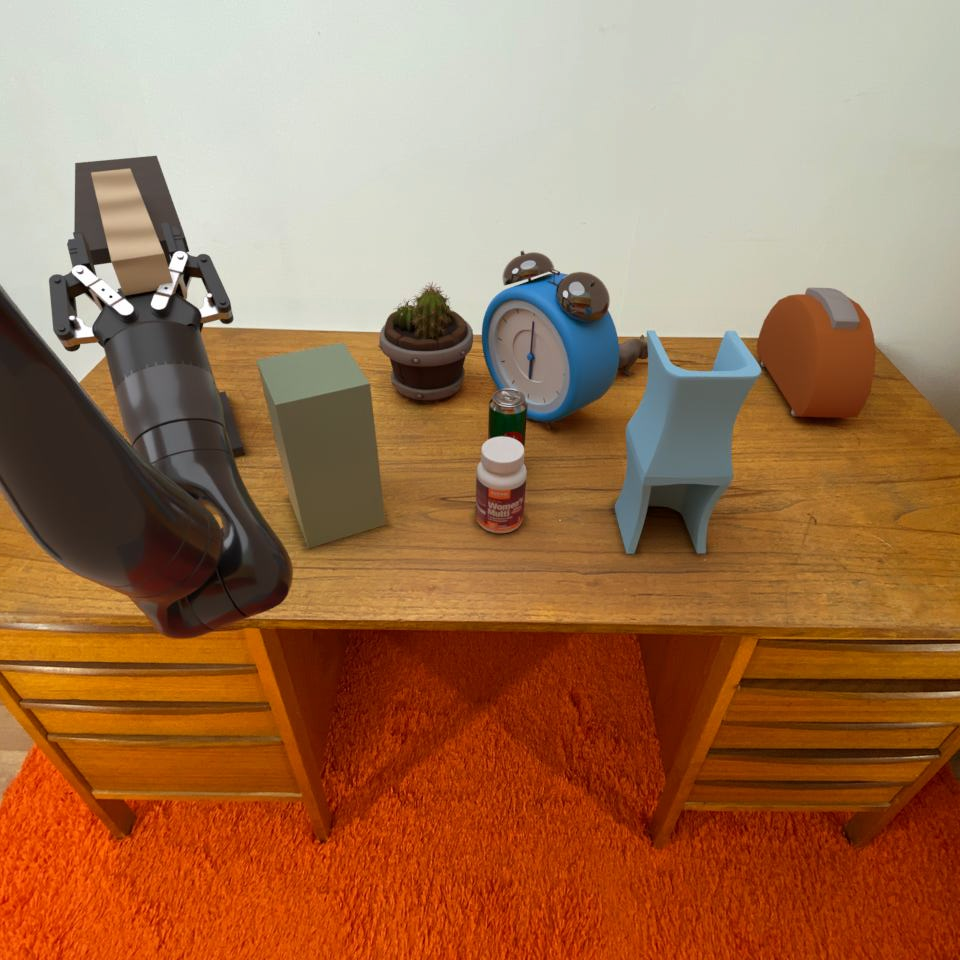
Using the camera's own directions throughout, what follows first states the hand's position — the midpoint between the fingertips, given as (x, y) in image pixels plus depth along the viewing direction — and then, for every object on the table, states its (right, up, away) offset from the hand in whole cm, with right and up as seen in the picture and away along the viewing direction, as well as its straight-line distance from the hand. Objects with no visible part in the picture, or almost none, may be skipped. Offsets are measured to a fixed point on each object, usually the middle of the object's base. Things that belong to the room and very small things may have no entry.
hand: (124, 233), depth 57 cm
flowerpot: (+23, -7, +49) cm, 55 cm away
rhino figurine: (+57, -3, +54) cm, 79 cm away
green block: (+13, -26, +26) cm, 39 cm away
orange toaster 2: (+85, -7, +51) cm, 100 cm away
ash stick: (-3, +2, +6) cm, 7 cm away
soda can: (+35, -21, +33) cm, 53 cm away
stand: (-10, -15, +39) cm, 43 cm away
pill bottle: (+34, -27, +26) cm, 51 cm away
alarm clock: (+42, -10, +45) cm, 63 cm away
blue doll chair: (+54, -28, +25) cm, 66 cm away
